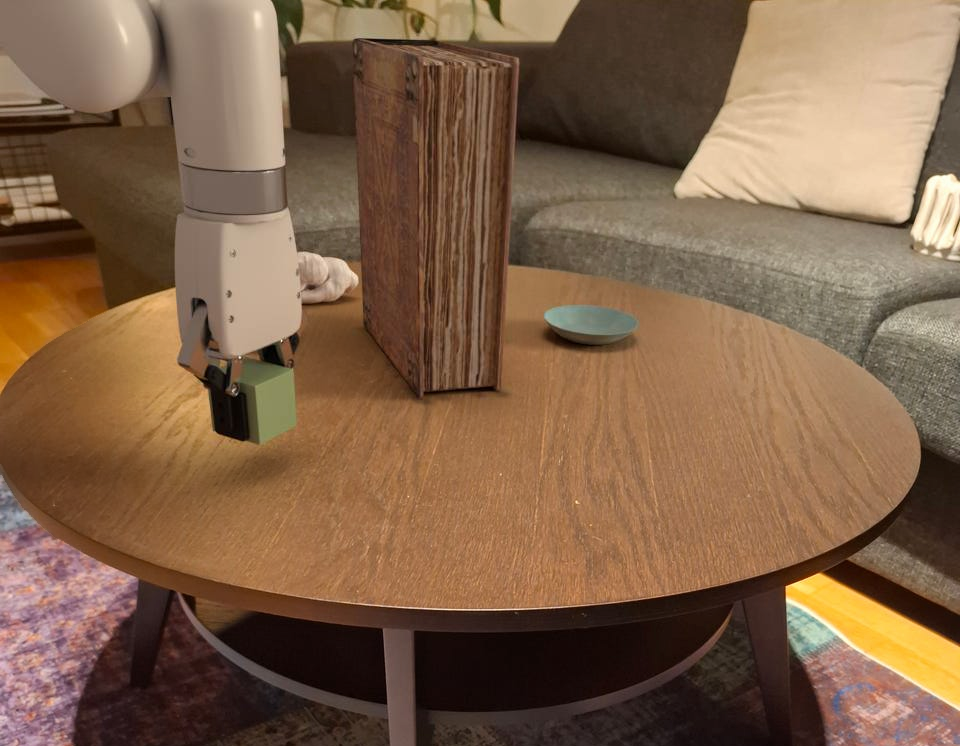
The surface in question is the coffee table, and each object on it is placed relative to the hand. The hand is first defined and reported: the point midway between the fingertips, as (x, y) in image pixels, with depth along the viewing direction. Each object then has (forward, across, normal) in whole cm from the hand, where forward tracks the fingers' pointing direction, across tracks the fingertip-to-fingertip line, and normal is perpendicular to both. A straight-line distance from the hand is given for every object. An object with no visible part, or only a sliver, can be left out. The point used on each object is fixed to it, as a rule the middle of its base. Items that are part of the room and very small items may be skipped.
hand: (254, 423), depth 77 cm
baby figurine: (+4, -44, -27) cm, 52 cm away
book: (+4, -33, -2) cm, 34 cm away
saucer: (+3, -51, +11) cm, 53 cm away
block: (0, 0, 0) cm, 0 cm away
